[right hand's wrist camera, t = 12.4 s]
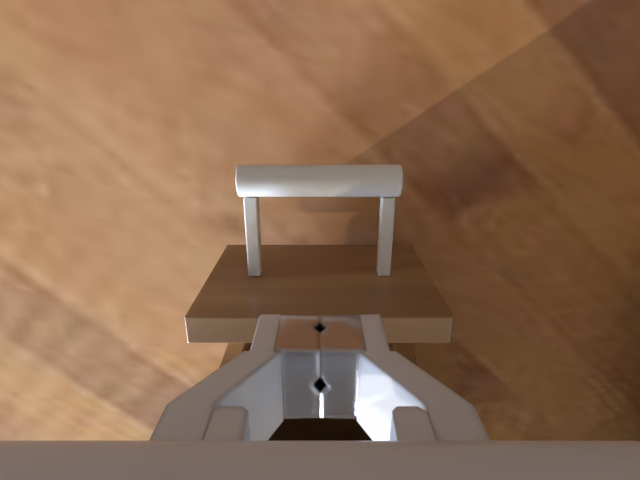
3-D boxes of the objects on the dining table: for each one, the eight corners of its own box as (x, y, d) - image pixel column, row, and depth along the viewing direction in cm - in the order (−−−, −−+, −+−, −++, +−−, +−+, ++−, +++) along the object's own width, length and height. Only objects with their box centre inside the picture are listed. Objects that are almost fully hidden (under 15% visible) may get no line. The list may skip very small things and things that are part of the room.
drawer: (219, 152, 21) (166, 184, 14) (419, 151, 21) (472, 184, 14) (248, 504, 30) (225, 638, 23) (389, 503, 30) (412, 637, 23)
